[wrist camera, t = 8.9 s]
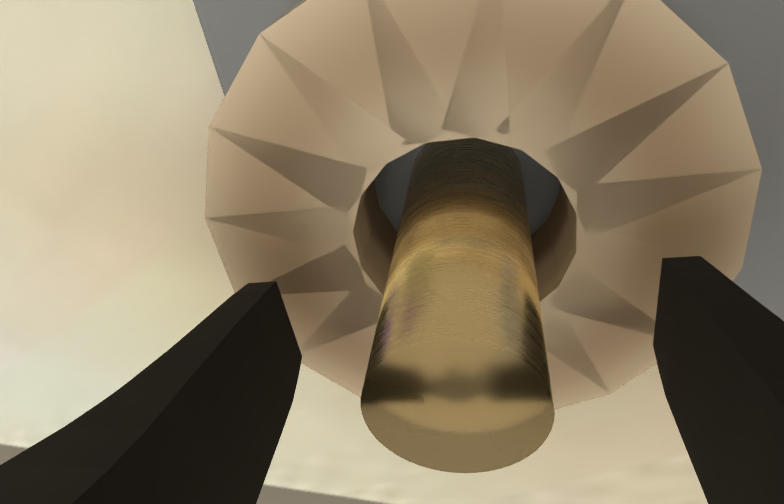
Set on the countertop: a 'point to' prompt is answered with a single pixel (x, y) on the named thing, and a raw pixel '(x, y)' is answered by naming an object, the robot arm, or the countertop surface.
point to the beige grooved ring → (495, 124)
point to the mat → (761, 108)
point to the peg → (461, 318)
